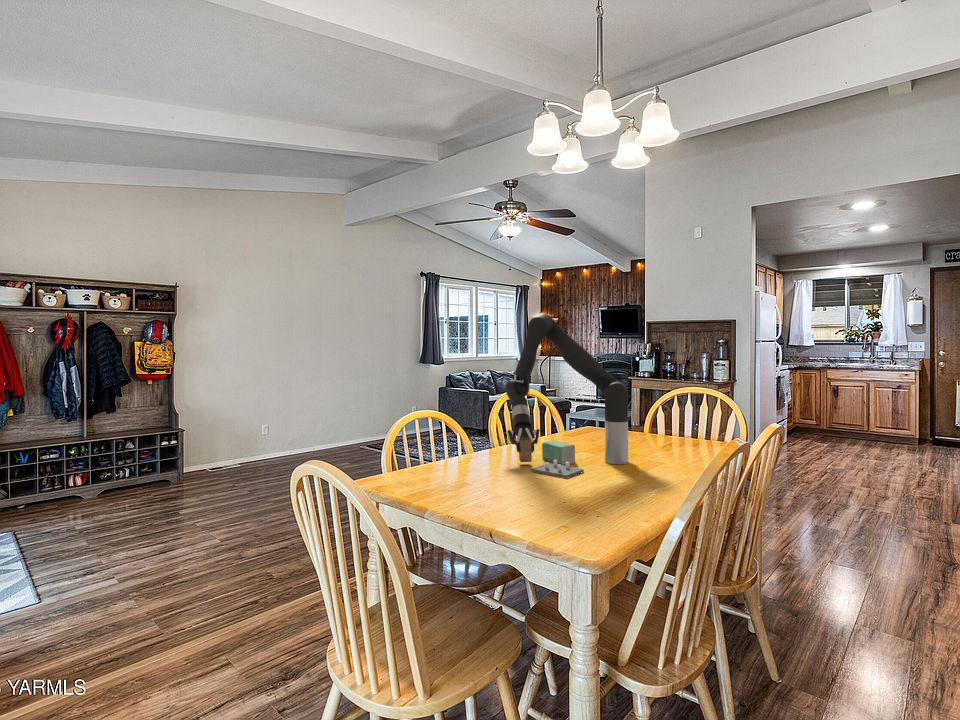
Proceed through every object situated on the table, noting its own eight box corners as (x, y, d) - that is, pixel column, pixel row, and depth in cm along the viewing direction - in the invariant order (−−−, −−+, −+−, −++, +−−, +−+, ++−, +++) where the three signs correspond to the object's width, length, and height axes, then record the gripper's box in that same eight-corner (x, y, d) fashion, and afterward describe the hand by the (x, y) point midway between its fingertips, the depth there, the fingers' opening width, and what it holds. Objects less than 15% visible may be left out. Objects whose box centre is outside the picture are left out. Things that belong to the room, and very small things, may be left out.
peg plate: (548, 466, 218) (548, 457, 218) (583, 472, 208) (583, 462, 208) (531, 471, 209) (531, 462, 209) (566, 478, 199) (566, 468, 199)
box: (555, 456, 236) (555, 439, 236) (575, 462, 224) (575, 444, 224) (541, 458, 232) (541, 441, 232) (561, 465, 221) (561, 447, 220)
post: (519, 459, 223) (518, 438, 223) (530, 459, 224) (529, 437, 223) (520, 462, 219) (520, 440, 219) (531, 461, 219) (531, 439, 219)
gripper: (505, 413, 228) (509, 447, 216) (538, 412, 228) (544, 446, 217) (504, 423, 233) (507, 457, 221) (537, 422, 234) (542, 456, 222)
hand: (526, 451), depth 219 cm, fingers closed on post, 4 cm apart
